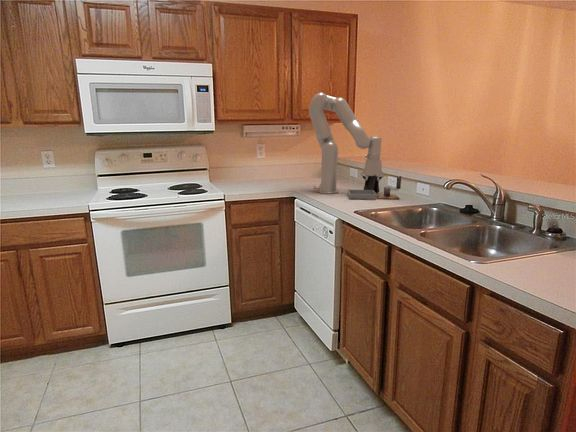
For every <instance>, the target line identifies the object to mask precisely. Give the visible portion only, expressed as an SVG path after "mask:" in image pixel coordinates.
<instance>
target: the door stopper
mask: <svg viewBox="0 0 576 432" xmlns="http://www.w3.org/2000/svg"><path fill="white" fill-rule="evenodd" d="M375 175H376V174H375ZM375 175H374V176H369V177H368V179H367V181H368V185H367V187H366V185H365V184H364V186H363V189H362V190H374V192H375V193H376V194H379V193H380V192H381V191H380V185H377V187H376V182H377V181H378V180H377V176H375Z"/></svg>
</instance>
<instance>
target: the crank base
mask: <svg viewBox="0 0 576 432" xmlns="http://www.w3.org/2000/svg"><path fill="white" fill-rule="evenodd" d="M376 194H377V200H385V201H387V200H392V201H396V200H397V201H400V197H399V196H398V195H397V194H396V193H394V194H393V193H390V196H384V193H376Z"/></svg>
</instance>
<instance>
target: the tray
mask: <svg viewBox="0 0 576 432" xmlns="http://www.w3.org/2000/svg"><path fill="white" fill-rule="evenodd" d="M377 194H378V193H375V192H374V190H363V189H347V196H348V197H347V198H348V200H349V201H350V200H355V201H357V200H358V201H359V200H362V201H377V200H378V199H377Z"/></svg>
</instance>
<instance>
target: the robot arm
mask: <svg viewBox="0 0 576 432" xmlns="http://www.w3.org/2000/svg"><path fill="white" fill-rule="evenodd" d="M324 110H326V111H330V112H333V113H335V114H336V116H337V117H338V118H339V120H340V122H341V123H342V125H343V127H344V129H346V130H347V131H348V132H349V134H350V136H351V137H352V138H353V139H354V143H355V146H356V147H357V148H359V149H361V150H366V149H367V154H365V155H364V158H366V159H365V164H364V169H363V170H362V171H361V172H360V174H359V175H360V176H361V177H362V178H363V179H364V186H365V185H366V187H367V185H368V181H367V179H368V177H369V176H374V175H375V174H376V175H375V176H377V180H378V181H377V182H376V187H377V185H379V183H380V180H382V179H383V178H384V177H385V176H386V174H385V173H384V172H383V169H382V167H383V165H382V159H381V151H382V137H381V136H375V135H373V136H368V135H367V133H366V131H365V130H364V128H363V126H362V125H361V124H360V122H359V120H358V118H357V117H356V115H355V114H354V112H353V110H352V108H351V107H350V105H349V103H348V102H347V101H346V99H345V98H344V97H341V96H339V97H335V96H331V95H327V94H326V93H325V92H317V93H316V94H314V96H313V97H312V99H311V100H310V103H309V108H308V112H309V113H308V114H309V118H310V121H311V124H312V126H313V128H314V134H315V137H316V139H317V142H318V145H319V147H320V150H321V172H320V175H321V176H320V185H314V186H313V190H317V191H318V193H319V194H324V195H336V194H339V192H340V191H339V190H338V189H337V182H338V181H337V180H338V179H337V178H338V177H337V176H338V157H339V156H338V155H339V147H338V144H337V143H336V141H335V139H334V136H333V134H332V130H331V127H330V126H329V123H328V120H327V118H326V115H325V111H324ZM379 186H380V185H379Z"/></svg>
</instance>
